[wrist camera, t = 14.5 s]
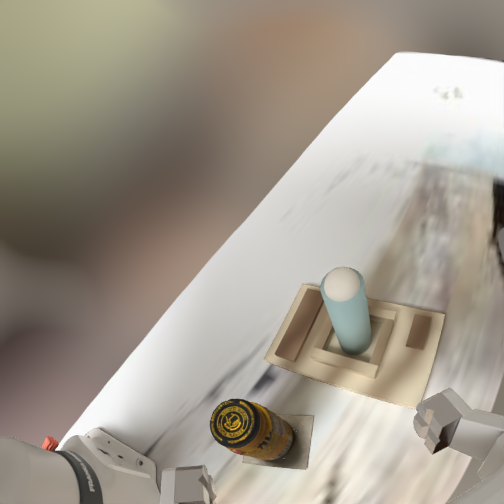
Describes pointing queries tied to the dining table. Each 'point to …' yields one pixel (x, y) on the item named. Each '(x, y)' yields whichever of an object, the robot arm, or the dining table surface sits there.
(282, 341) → the jig
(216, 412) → the condiment
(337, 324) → the roll-on deodorant
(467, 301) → the dining table surface
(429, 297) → the dining table surface
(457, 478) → the dining table surface
